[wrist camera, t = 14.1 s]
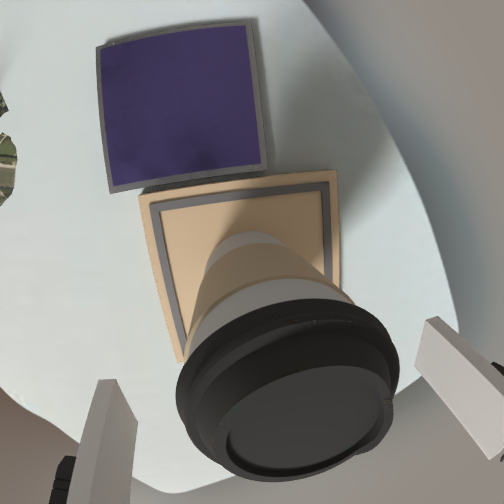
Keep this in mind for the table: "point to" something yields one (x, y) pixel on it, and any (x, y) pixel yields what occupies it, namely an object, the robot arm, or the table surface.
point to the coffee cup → (282, 366)
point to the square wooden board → (234, 231)
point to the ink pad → (180, 106)
